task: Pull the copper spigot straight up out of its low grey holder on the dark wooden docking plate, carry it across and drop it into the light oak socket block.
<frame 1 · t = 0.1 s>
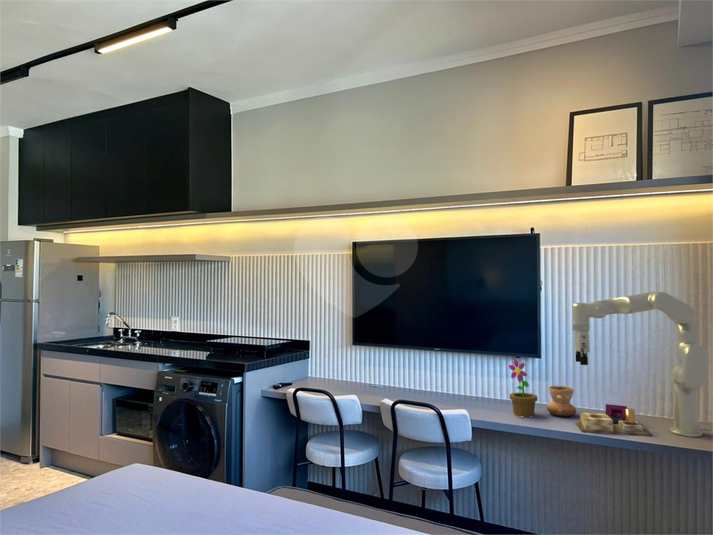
hand: (581, 363, 239), 31 cm above the worktop, tool pointing down, fingers open, 9 cm apart
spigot: (630, 428, 233), point 1 cm above the worktop, touching docking station
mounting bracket: (616, 421, 249), on the worktop
flowerpot: (523, 415, 262), on the worktop
ceramic jug: (561, 414, 262), on the worktop
docking station: (612, 429, 234), on the worktop
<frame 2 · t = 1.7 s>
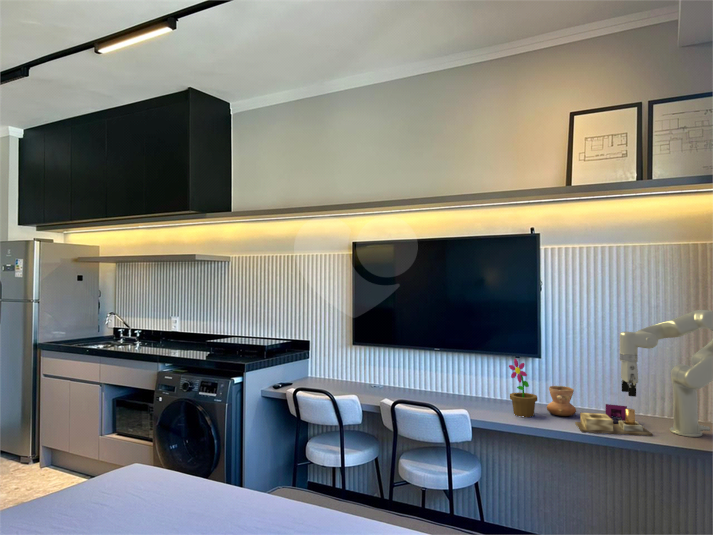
hand: (628, 393, 233), 17 cm above the worktop, tool pointing down, fingers open, 9 cm apart
nothing on the worktop moved.
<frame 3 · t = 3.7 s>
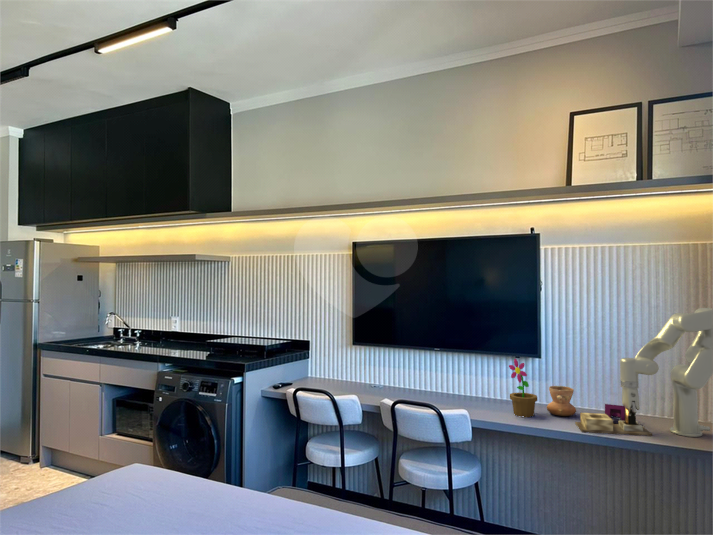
hand: (630, 422, 233), 4 cm above the worktop, tool pointing down, fingers closed on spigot, 4 cm apart
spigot: (630, 428, 233), point 1 cm above the worktop, touching docking station, gripper
everything else where it was.
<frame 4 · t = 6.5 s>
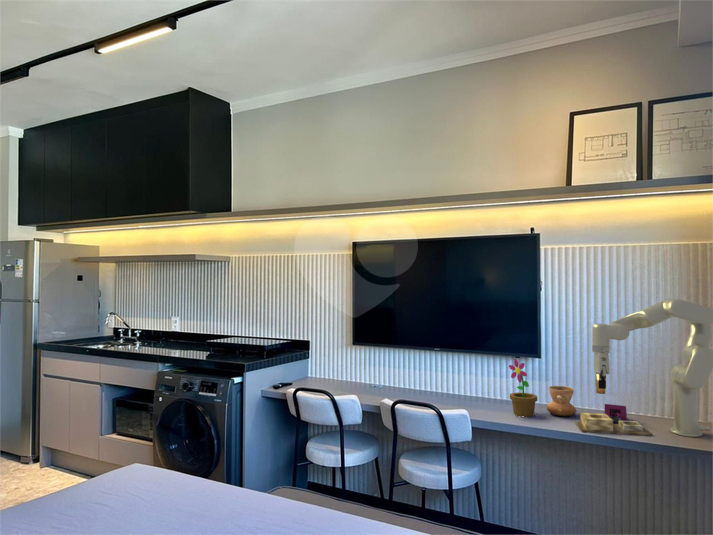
hand: (600, 387, 236), 20 cm above the worktop, tool pointing down, fingers closed on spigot, 4 cm apart
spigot: (600, 393, 236), point 17 cm above the worktop, touching gripper
everything else where it was.
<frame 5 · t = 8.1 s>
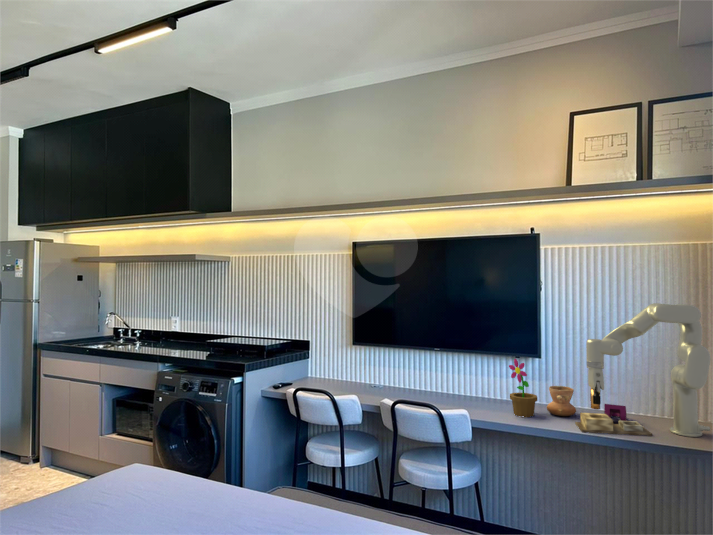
hand: (595, 402, 236), 13 cm above the worktop, tool pointing down, fingers closed on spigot, 4 cm apart
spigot: (595, 408, 236), point 10 cm above the worktop, touching gripper
everything else where it was.
when the fingers open (6 cm above the worktop, at t = 9.5 s): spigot drops 2 cm, resting on docking station.
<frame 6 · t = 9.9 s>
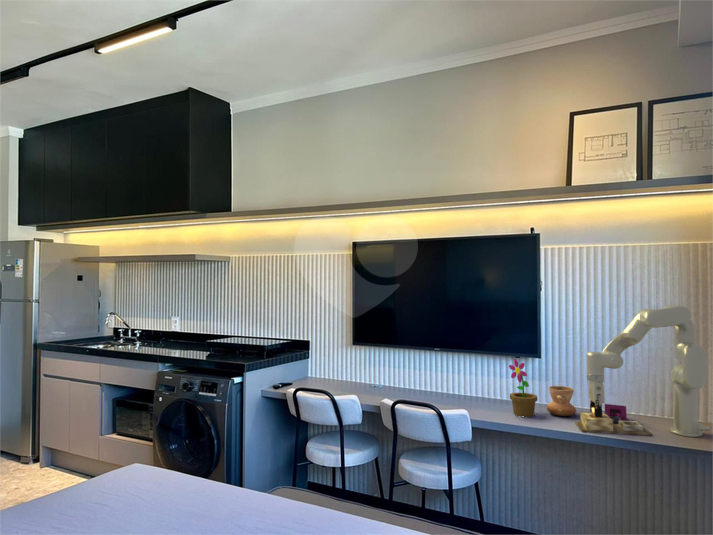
hand: (596, 414, 236), 7 cm above the worktop, tool pointing down, fingers open, 7 cm apart
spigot: (596, 426, 236), point 1 cm above the worktop, touching docking station
everything else where it was.
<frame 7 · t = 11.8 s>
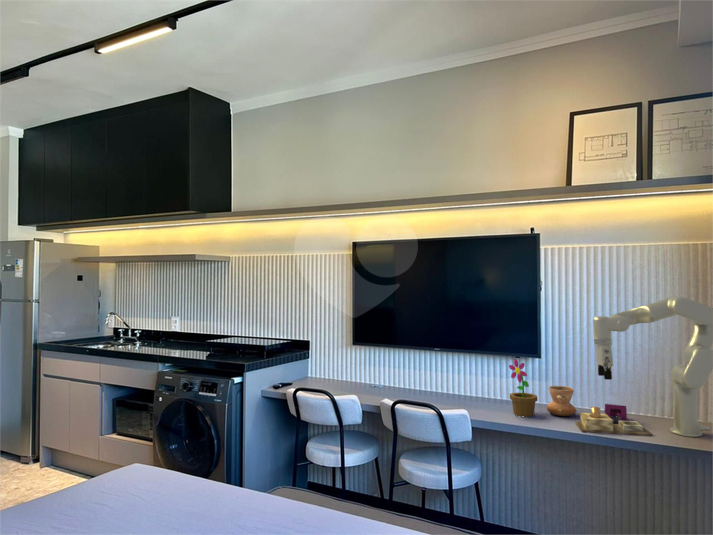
hand: (604, 377, 237), 25 cm above the worktop, tool pointing down, fingers open, 9 cm apart
nothing on the worktop moved.
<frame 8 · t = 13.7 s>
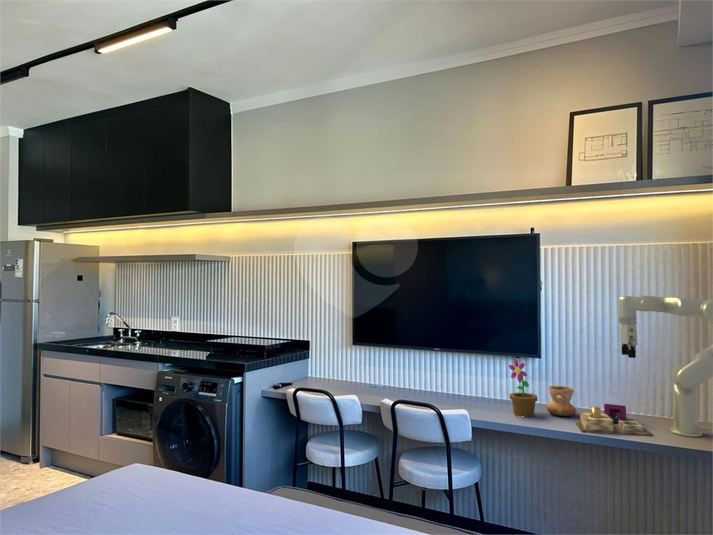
hand: (628, 356, 240), 34 cm above the worktop, tool pointing down, fingers open, 9 cm apart
nothing on the worktop moved.
at the end: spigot 0.2 cm from the target spot on the docking station, point 1.1 cm above the docking station's base; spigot tilted 2°; the gripper is holding nothing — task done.
